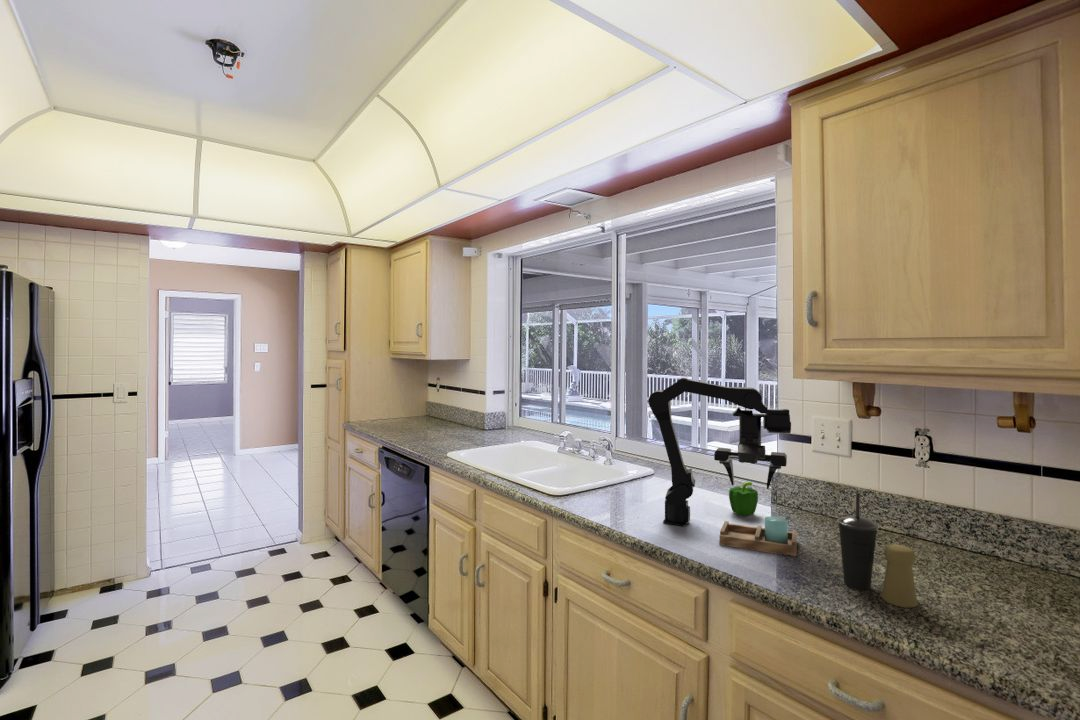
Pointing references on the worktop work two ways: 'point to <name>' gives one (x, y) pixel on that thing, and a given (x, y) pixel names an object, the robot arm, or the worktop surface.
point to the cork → (899, 576)
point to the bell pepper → (743, 499)
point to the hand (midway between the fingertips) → (750, 486)
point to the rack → (755, 539)
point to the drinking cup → (857, 548)
